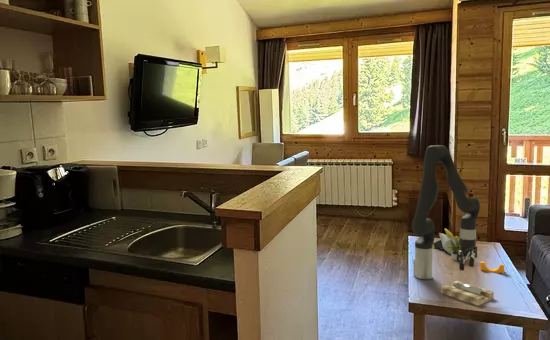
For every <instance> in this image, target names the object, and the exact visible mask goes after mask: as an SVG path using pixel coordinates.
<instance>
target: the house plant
mask: <svg viewBox="0 0 550 340" xmlns="http://www.w3.org/2000/svg"><path fill="white" fill-rule="evenodd" d="M458 238H459V239H458V241H457V240H456V245H455V242H454V243H453V241H452V240H451V239H449V240H450V241H451V243H452V244H451V243H450V242H449V241H448V242H449V243H450V244H451V245H452V247H447V248H451V249H452V250H453V252H451V254H450V257H451V259H452V260H453V261H457V251H458V250H461V248H462V247H461V246H459V240H460V236H458ZM455 239H456V238H455ZM454 245H455V246H454ZM459 259H460V258H459Z"/></svg>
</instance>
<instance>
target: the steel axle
mask: <svg viewBox="0 0 550 340" xmlns="http://www.w3.org/2000/svg"><path fill="white" fill-rule="evenodd" d="M461 282H462V281H460V282H457V283H456V289H459V290H463V291H466V292H469V293H472V294H475V295H478V296H482V294H483V290H482V289H481V288H482V287H480V288H478V287H479V286H476V287H474V286H475V285H473V286H471V285H472V284H470V285H468V284H469V283H467V284H465V283H466V282H463V283H461Z"/></svg>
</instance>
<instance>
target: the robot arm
mask: <svg viewBox="0 0 550 340" xmlns="http://www.w3.org/2000/svg"><path fill="white" fill-rule="evenodd" d="M438 163H440V164H441V165H442V166H443V168H444V170H445V173H446V183H447V184H448V185H447V186H448V188H449V189H450V190H451V192H452V194H453V196H454V199H455V203H456V206H457V208H458V209H459V210H460V211H461V212H462V213H465V214H464V215H463V216H461V218H460V229H459V237H460V240H459V245H460V246H461V247H462V248H461V250H458V251H457V260H456V262H457V263H458V264H459V265H458V266H459V267H458V268H459V271H465V263H466V262H465V261H467V260H468V258H469V260H468V266H469V267H470V268H474V267H475V260H476V259H477V258H478V246H477V219H478V216H479V212H480V209H481V203H480V200H479V198H477V197H475V196H470V197H467V195H466V194H467V193H468V191H469V189H468V187H467V186H466V183H465V182H464V181H463V179H462V177H461V176H460V173H459V172H458V169H457V168H456V164H455V163H454V160H453V158H452V154H451V153H450V151H449V149H448V147H446V145H443V144H435V145H429V146H427V147H426V149H425V153H424V161H423V171H422V179H421V185H420V189H419V195H418V199H417V200H418V201H417V205H416V210H415V214H414V217H413V219H412V224H411V230H412V232H413V234H414V235H415V236H417V237H418V238H417V240H415V242H414V259H413V261H412V263H413V266H412V267H413V268H412V269H413V271H412V272H413V274H412V275H413V276H414V278H417V279H419V280H431V279H432V278H433V247H432V245H433V243H435V231H436V230H435V227H436V226H435V223H434V221H433V220H432V219H431V218H429V217H428V215H429V212H430V211H431V209H432V208H433V206H434V204H435V203H436V201H437V199H438V195H439V189H440V187H439V181H438V179H437V176H436V175H437V174H436V169H437V165H438ZM459 258H460V259H459Z"/></svg>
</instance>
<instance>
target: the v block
mask: <svg viewBox="0 0 550 340" xmlns="http://www.w3.org/2000/svg"><path fill="white" fill-rule="evenodd" d="M457 282H461V283H465V284H468V285H471V286H474V287H478V288H481V289H482V290H483V294H482V296H478V295H475V294H472V293H469V292H466V291H463V290H459V289H456V283H457ZM440 293H441V294H444V295H446V296H449V297H451V298H455V299H457V300H460V301H462V302H466V303H469V304H471V305H475V306H481V305H483V304H485V303H486V302H489V301H491V300H493V299H494V293H495V292H494V291H492V290H489V289H486V288H482V287H479V286H476V285H473V284H469V283H466V282H462V281H459V280H455V281H453V282H452V285H451V286H450V285H446V284H444V285H442V286H440Z"/></svg>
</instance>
